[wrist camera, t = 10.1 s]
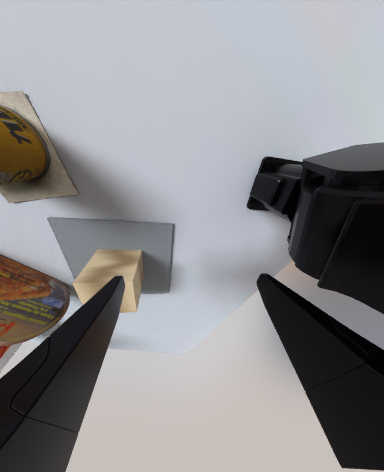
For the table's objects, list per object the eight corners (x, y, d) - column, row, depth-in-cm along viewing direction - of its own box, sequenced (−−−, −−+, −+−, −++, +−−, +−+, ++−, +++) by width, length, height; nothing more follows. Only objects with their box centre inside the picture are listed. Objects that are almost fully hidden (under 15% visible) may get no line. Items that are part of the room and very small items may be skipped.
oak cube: (141, 250, 21) (132, 282, 16) (143, 277, 24) (136, 311, 19) (97, 249, 19) (72, 283, 14) (105, 278, 23) (87, 314, 17)
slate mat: (172, 223, 19) (172, 224, 19) (168, 291, 27) (168, 292, 27) (49, 217, 17) (47, 218, 16) (83, 294, 24) (82, 296, 24)
